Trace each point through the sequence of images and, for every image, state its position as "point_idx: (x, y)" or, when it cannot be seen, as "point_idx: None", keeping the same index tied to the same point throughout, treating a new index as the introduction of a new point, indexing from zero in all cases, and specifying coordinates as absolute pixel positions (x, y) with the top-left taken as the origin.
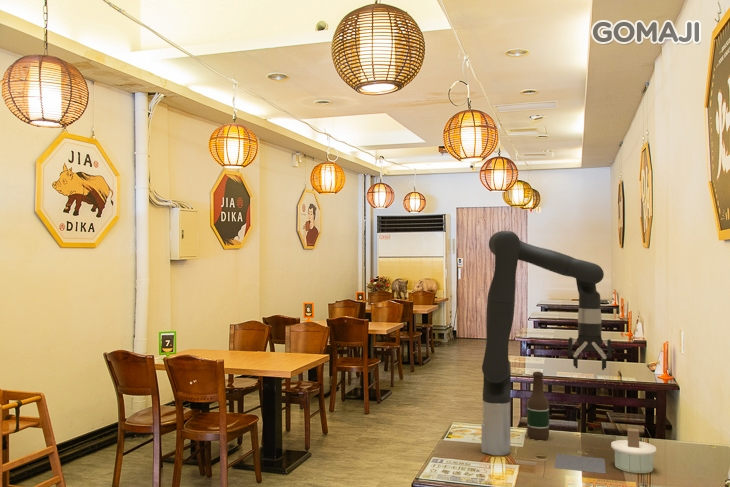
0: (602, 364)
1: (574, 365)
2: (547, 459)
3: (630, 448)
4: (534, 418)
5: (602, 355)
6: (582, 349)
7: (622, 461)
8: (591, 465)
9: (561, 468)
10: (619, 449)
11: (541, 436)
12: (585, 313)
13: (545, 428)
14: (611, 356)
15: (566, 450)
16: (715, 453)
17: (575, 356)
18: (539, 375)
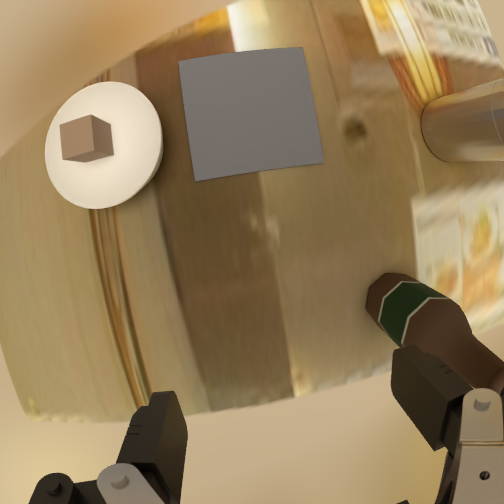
0: (159, 421)
1: (428, 357)
2: (335, 114)
3: (103, 109)
4: (426, 289)
5: (139, 498)
6: (460, 486)
7: None
8: (219, 102)
9: (285, 48)
10: (133, 87)
11: (384, 280)
12: None
13: (385, 294)
14: (45, 480)
15: (307, 220)
16: (14, 362)
17: (474, 397)
18: (501, 373)
